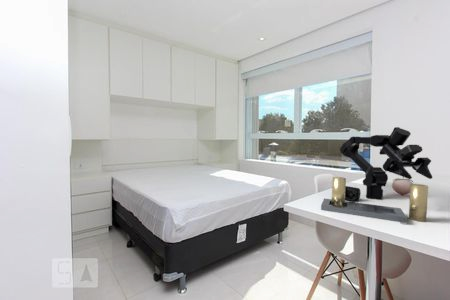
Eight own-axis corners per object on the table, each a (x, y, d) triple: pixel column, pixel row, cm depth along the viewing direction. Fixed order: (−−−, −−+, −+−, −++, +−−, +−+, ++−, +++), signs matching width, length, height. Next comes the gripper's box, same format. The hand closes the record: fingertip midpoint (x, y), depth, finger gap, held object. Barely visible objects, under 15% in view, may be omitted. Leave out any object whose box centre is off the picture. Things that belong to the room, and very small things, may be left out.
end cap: (360, 201, 108) (361, 187, 108) (354, 203, 104) (355, 189, 103) (339, 196, 116) (339, 183, 115) (332, 199, 111) (333, 185, 111)
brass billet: (410, 220, 83) (412, 185, 82) (407, 216, 87) (409, 183, 86) (428, 223, 80) (430, 187, 80) (424, 218, 85) (426, 184, 84)
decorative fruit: (398, 197, 115) (398, 178, 115) (388, 193, 123) (389, 175, 123) (418, 198, 114) (419, 178, 113) (407, 194, 122) (408, 176, 122)
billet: (331, 209, 94) (332, 178, 93) (331, 205, 98) (332, 176, 97) (344, 211, 91) (345, 179, 90) (344, 207, 96) (345, 177, 95)
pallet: (320, 211, 92) (321, 205, 92) (324, 203, 103) (324, 198, 103) (406, 224, 79) (407, 217, 78) (400, 214, 89) (400, 208, 89)
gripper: (385, 139, 96) (412, 163, 84) (424, 139, 98) (456, 163, 86) (372, 158, 103) (396, 183, 90) (409, 158, 105) (436, 183, 93)
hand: (421, 178), depth 90 cm, fingers open, 9 cm apart
